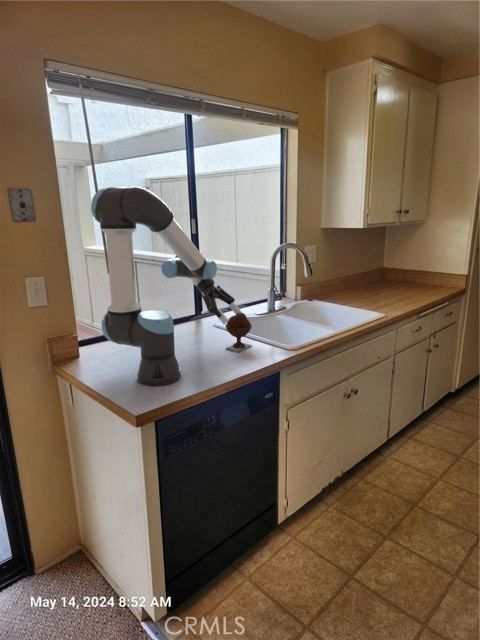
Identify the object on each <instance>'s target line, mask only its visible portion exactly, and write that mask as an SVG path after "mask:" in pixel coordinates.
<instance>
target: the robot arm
mask: <svg viewBox="0 0 480 640" xmlns="http://www.w3.org/2000/svg"><path fill="white" fill-rule="evenodd" d="M90 211H91V215H92V217H93V218H94V220H95V221H96V222H97V223H99V225H100V230H101V231H102V232H103V233H104V235H105V239H106V241H105V242H106V252H107V253H106V254H107V263H108V264H107V267H108V276H109V277H108V278H109V290H110V303H111V304H110V305H109V306H108V307H107V312H106V313H105V314H104V315H103V319H102V320H101V331H102V334H103V335H104V337H105V338H106V339H107V340H108V341H109V342H111V343H114V344H117V345H124V346H128V347H129V346H130V347H137V348H140V356H141V357H140V363H139V365H138V366H139V367H138V369H137V374H136V375H137V381H138V382H139V384H142V385H145V386H150V387H151V386H152V387H159V386H166V385H171V384H174V383H176V382H177V381H178V380H180V379H181V376H182V370H181V368H180V366H179V365H180V364H179V362H178V360H177V358H176V352H175V351H176V350H175V325H174V319H173V317H172V316H171V314H169V313H167V312H165V311H161V310H151V309H150V310H144V311H142V306H141V305H140V304H139V303H138V302H137V291H136V275H135V274H136V273H135V272H136V271H135V260H134V259H135V258H134V245H133V244H134V243H133V233H134V232H135V231H136V230H137V225H142V226H144V227H147V229H148V230H150V231H151V232H152V233H155V234H157V235H158V236H159V237H160V238H161V239H162V240H163V241H164V243H165V244H166V245H167V246H168V247H169V249H170V250H171V251H173V253H174V254H175V257H174V258H169V259H166V260H164V261H163V262H162V264H161V267H160V268H161V273H162V275H163V276H164V277H165V278H168V279H175V278H187V279H189V280H190V281H191V283H192V284H193V285H195V287H196V289H197V290H198V291H199V292H200V296H201V298H202V299H203V301H204V304H205V306H206V309H207V311H208V312H209V313H210V314H215V316H216V317H217V318H218V319H219V321H220V322H221V324H223V325H226V324H227V322H228V321H229V320H228V319H229V318H228V317H227V316H226V315H225V314H224V313H223V312H222V310H221V308H218V306H217V302H216V299H217V300H221V301H222V302H224V303H226V304H227V305H228V307H229V308H230V309H231V311H232V312H233V313H234V314H235V315H236V314H237V313H243V312H242V310H241V309H240V308H239V306H237V304H236V303H235V301H236V299H235V297H233V296H231V294H229V293H228V292H227V291H225V290H224V289H223V288H222V287H221V286H220V285H219V284H218V285H217V286H215V281H214V278H215V277H216V274H217V271H218V267H217V263H216V262H215V261H214V260H210V259H206V258H205V257H204V255H203V254H202V253H201V252H200V250H198V248H197V246H196V245H195V244H194V243H193V241H192V240H191V239H190V238H189V236H188V235H187V234H186V232H185V231H184V230H183V229H182V227H181V226H180V224H179V223H178V222H177V221H176V220H175V218H174V216H175V215H174V212H173V211H172V210H171V208H170V207H169V206H168V204H166V202H165V201H163V200H162V198H160V197H159V196H158V195H156V193H154V192H152V191H151V190H149V189H146V188H144V187H141V186H108V187H104V188H100V189H99V190H98V191H96V193H95V194H94V195H93V197H92V199H91V204H90Z"/></svg>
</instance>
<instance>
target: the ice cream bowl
mask: <svg viewBox="0 0 480 640" xmlns="http://www.w3.org/2000/svg"><path fill="white" fill-rule="evenodd" d="M227 319H228V320H229V321H228V322H227V323H226V324H225V329H226V330H227V331H226V332H228V333H229V334H230V335H231V336H232V337H234V338H236V342H234V343H233V344H232V345H233V347H234V348H243V347H245V344H246V343H245V344H243V343H244V342H242V340H241V339H242V338H243V337H245V336H247V335H248V334H249V332H250V331H251V329H252V323H251V322H250V321H249V320H248V317H247V315H246V314H245V313H244V312H242V313H237V314H235V315H231V316H230V317H229V318H227Z"/></svg>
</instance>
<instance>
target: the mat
mask: <svg viewBox="0 0 480 640" xmlns="http://www.w3.org/2000/svg"><path fill="white" fill-rule="evenodd" d="M242 343H243V344H245V347H243V348H234V347H233V344H232V345H231V346H230V345H229V346H227V347H225V350H227V351H231V352H235V353H240V352H242V351H245V350H248V349H249V348H252V346H253V345H252V344H248V343H245V342H242Z"/></svg>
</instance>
